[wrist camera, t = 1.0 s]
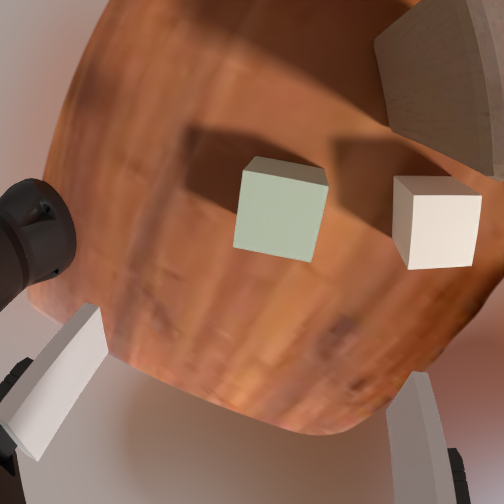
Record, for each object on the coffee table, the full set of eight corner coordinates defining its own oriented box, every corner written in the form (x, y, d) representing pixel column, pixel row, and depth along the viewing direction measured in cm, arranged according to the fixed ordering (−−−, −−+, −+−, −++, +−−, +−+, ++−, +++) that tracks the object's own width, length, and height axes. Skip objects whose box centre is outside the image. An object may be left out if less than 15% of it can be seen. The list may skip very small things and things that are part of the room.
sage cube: (246, 218, 35) (233, 247, 29) (255, 155, 32) (243, 170, 26) (310, 231, 35) (310, 262, 28) (324, 168, 31) (328, 186, 25)
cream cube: (391, 238, 33) (407, 269, 27) (393, 175, 30) (413, 195, 24) (447, 236, 32) (471, 265, 26) (452, 176, 29) (481, 195, 23)
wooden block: (472, 128, 26) (608, 179, 8) (388, 134, 28) (491, 188, 11) (456, 37, 22) (587, 7, 4) (368, 38, 24) (451, -35, 7)
